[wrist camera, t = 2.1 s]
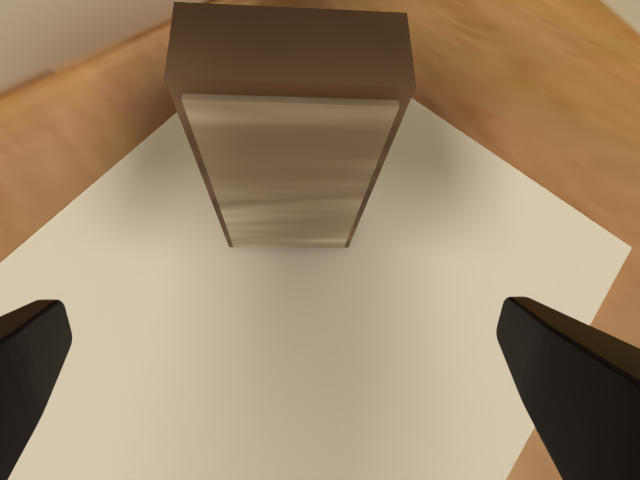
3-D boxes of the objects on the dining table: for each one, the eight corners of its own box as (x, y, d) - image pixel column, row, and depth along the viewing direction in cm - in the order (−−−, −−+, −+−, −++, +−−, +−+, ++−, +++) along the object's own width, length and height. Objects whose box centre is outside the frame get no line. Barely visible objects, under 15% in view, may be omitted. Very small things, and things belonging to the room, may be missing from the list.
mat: (300, 845, 14) (300, 857, 14) (-129, 380, 18) (-137, 379, 18) (626, 250, 23) (631, 247, 23) (290, 20, 27) (290, 15, 27)
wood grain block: (348, 251, 22) (417, 93, 10) (228, 251, 21) (163, 85, 10) (346, 204, 22) (406, 13, 11) (231, 203, 22) (174, 1, 11)
